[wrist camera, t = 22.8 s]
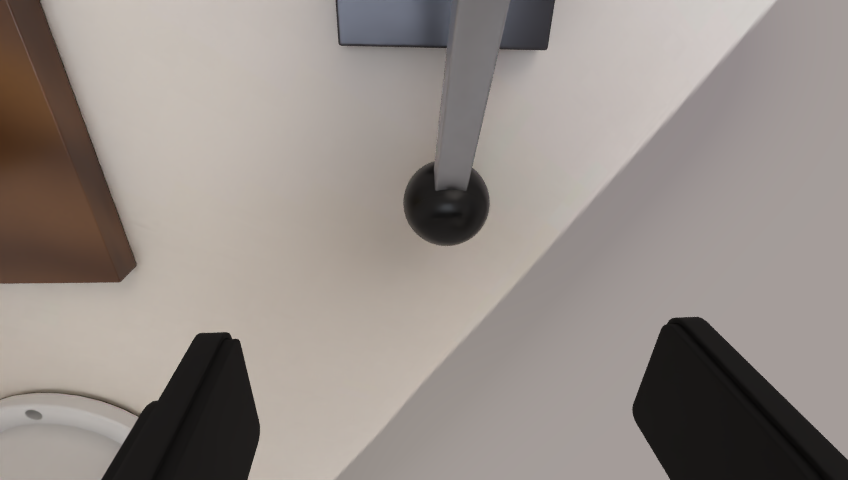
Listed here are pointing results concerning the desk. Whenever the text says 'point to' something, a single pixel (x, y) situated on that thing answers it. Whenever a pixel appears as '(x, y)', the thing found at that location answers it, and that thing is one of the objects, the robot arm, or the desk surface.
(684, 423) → the robot arm
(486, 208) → the lever
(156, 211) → the desk surface
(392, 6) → the lever stand
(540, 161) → the desk surface
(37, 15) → the board
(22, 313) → the desk surface
